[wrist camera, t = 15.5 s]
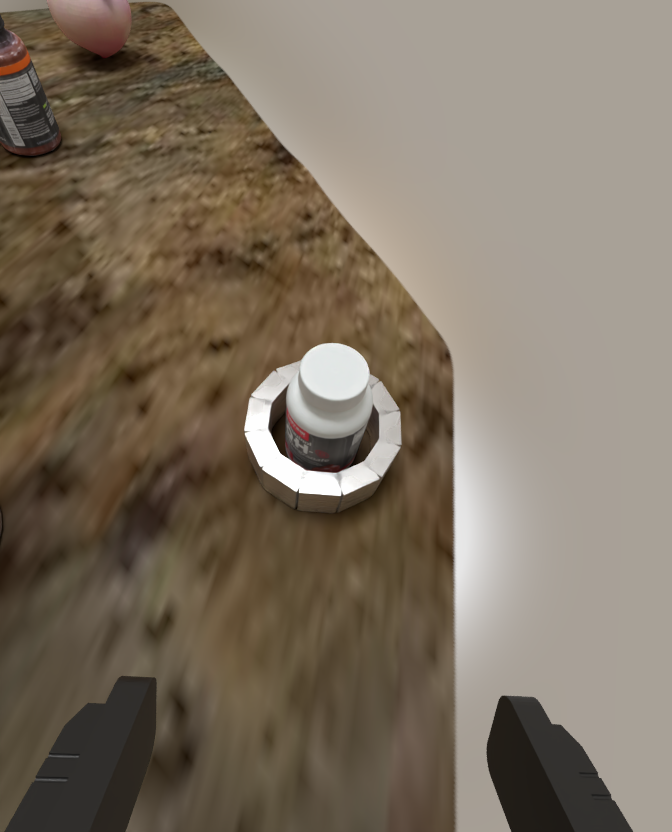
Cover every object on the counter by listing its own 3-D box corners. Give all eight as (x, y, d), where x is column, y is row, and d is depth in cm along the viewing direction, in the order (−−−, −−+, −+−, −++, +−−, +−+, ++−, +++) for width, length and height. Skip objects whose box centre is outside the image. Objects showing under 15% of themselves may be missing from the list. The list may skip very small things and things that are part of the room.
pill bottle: (273, 465, 32) (271, 390, 24) (300, 406, 35) (306, 320, 26) (344, 490, 32) (367, 424, 23) (365, 429, 34) (393, 349, 26)
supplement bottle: (-5, 133, 48) (-77, -6, 38) (54, 123, 50) (-1, -11, 40) (9, 164, 45) (-64, 24, 36) (70, 152, 47) (17, 17, 38)
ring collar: (219, 459, 32) (213, 436, 29) (302, 364, 37) (305, 336, 34) (342, 542, 30) (349, 526, 27) (413, 430, 35) (426, 406, 32)
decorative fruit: (50, 56, 57) (9, -54, 48) (100, 37, 61) (70, -68, 52) (105, 83, 55) (73, -27, 46) (153, 61, 59) (131, -43, 50)
